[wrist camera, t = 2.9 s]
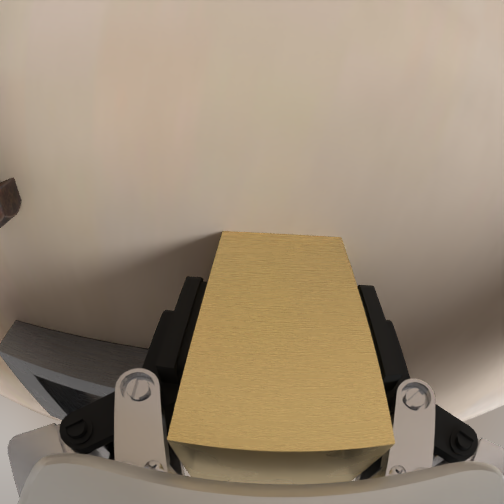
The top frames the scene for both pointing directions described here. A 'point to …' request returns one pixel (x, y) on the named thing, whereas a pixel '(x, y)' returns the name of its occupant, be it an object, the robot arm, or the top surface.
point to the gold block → (281, 368)
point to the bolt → (8, 200)
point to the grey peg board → (66, 366)
